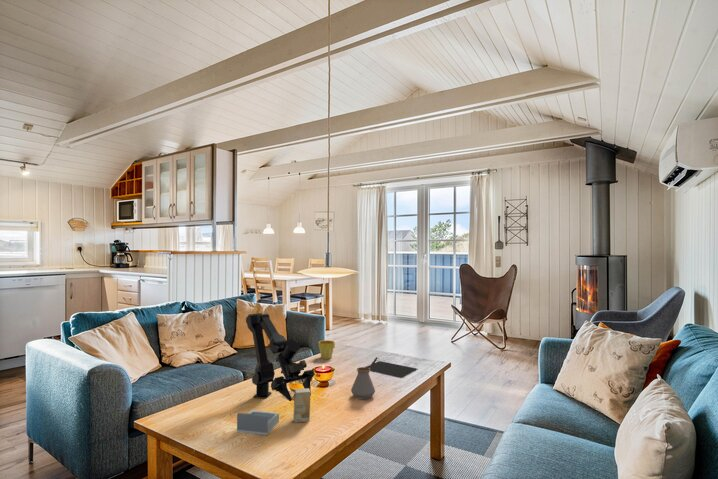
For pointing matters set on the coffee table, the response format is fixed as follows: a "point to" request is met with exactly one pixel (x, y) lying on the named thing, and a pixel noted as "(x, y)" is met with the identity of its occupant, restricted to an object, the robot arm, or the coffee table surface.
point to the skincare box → (302, 405)
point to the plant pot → (326, 348)
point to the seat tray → (257, 422)
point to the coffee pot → (363, 383)
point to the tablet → (391, 369)
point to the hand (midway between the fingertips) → (300, 398)
